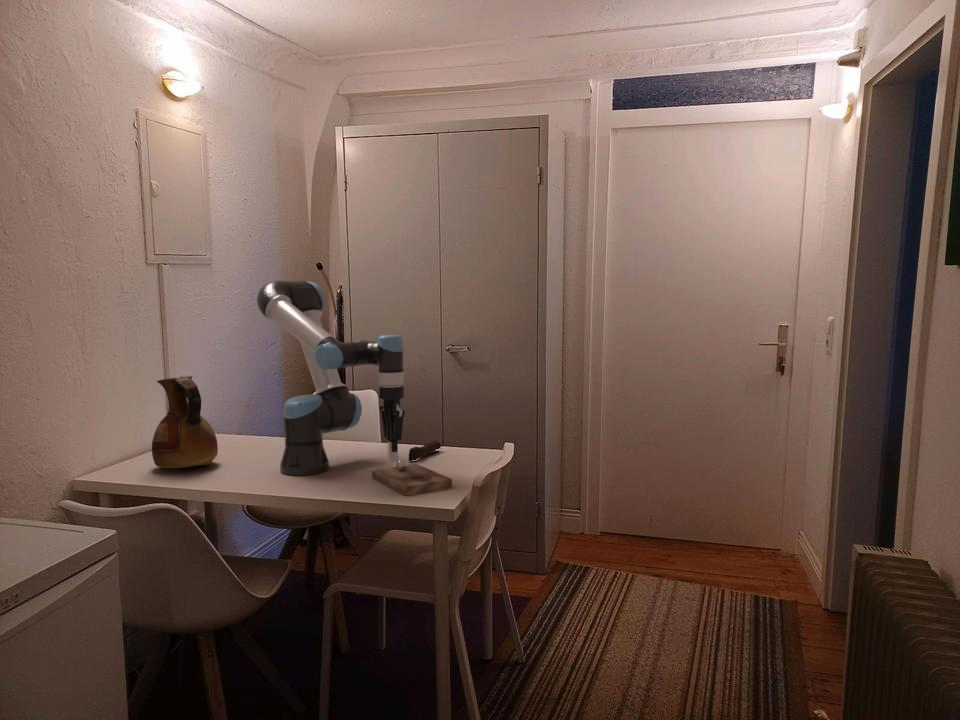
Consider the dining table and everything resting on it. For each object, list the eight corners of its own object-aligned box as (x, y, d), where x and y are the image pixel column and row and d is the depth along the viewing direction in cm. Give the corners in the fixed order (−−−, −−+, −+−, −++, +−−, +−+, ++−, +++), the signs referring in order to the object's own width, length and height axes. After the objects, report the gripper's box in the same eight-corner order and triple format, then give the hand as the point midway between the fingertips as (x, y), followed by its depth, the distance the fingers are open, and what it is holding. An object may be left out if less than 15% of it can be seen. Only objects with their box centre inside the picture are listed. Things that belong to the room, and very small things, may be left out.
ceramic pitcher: (192, 457, 239) (188, 371, 237) (232, 464, 229) (228, 374, 226) (139, 470, 222) (134, 377, 220) (179, 478, 212) (175, 380, 209)
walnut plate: (404, 495, 191) (404, 486, 191) (372, 478, 210) (372, 470, 210) (451, 487, 200) (451, 479, 199) (416, 471, 218) (416, 463, 218)
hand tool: (431, 451, 248) (431, 438, 248) (441, 452, 246) (440, 439, 246) (402, 462, 231) (401, 449, 231) (412, 464, 229) (411, 450, 229)
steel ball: (399, 472, 207) (399, 461, 207) (394, 470, 210) (394, 459, 210) (409, 470, 209) (408, 460, 209) (404, 468, 212) (404, 458, 211)
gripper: (412, 386, 209) (413, 464, 211) (393, 382, 220) (394, 456, 222) (389, 388, 205) (391, 467, 207) (371, 384, 216) (373, 459, 218)
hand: (393, 461), depth 215 cm, fingers closed
